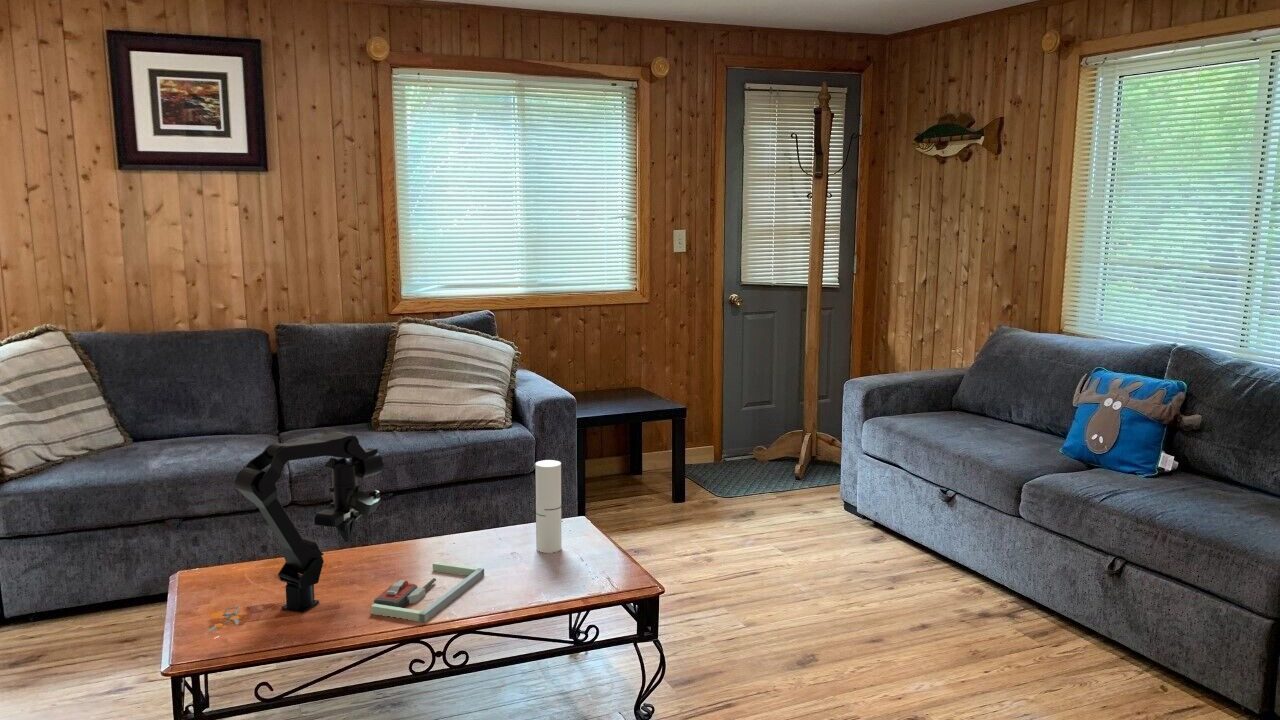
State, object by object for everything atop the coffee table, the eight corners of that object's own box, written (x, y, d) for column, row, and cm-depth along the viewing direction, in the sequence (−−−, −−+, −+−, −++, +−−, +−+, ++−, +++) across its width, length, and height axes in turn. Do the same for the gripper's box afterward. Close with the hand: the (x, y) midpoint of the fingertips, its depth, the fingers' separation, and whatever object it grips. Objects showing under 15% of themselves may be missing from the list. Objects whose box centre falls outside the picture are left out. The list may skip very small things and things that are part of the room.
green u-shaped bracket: (424, 622, 224) (424, 614, 224) (371, 613, 229) (370, 605, 228) (484, 575, 252) (484, 568, 252) (435, 568, 257) (435, 561, 256)
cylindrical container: (560, 553, 269) (560, 467, 265) (535, 553, 269) (534, 466, 265) (562, 544, 276) (561, 460, 272) (537, 544, 276) (536, 459, 272)
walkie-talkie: (403, 617, 228) (439, 584, 247) (403, 599, 227) (438, 568, 246) (369, 613, 230) (407, 581, 249) (369, 596, 229) (407, 565, 248)
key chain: (212, 611, 230) (212, 607, 230) (244, 607, 232) (244, 604, 232) (203, 634, 218) (203, 630, 218) (238, 630, 220) (238, 627, 220)
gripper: (350, 496, 228) (352, 558, 231) (393, 475, 246) (395, 533, 249) (310, 491, 232) (313, 553, 235) (356, 471, 249) (358, 528, 252)
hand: (347, 541), depth 242 cm, fingers closed
